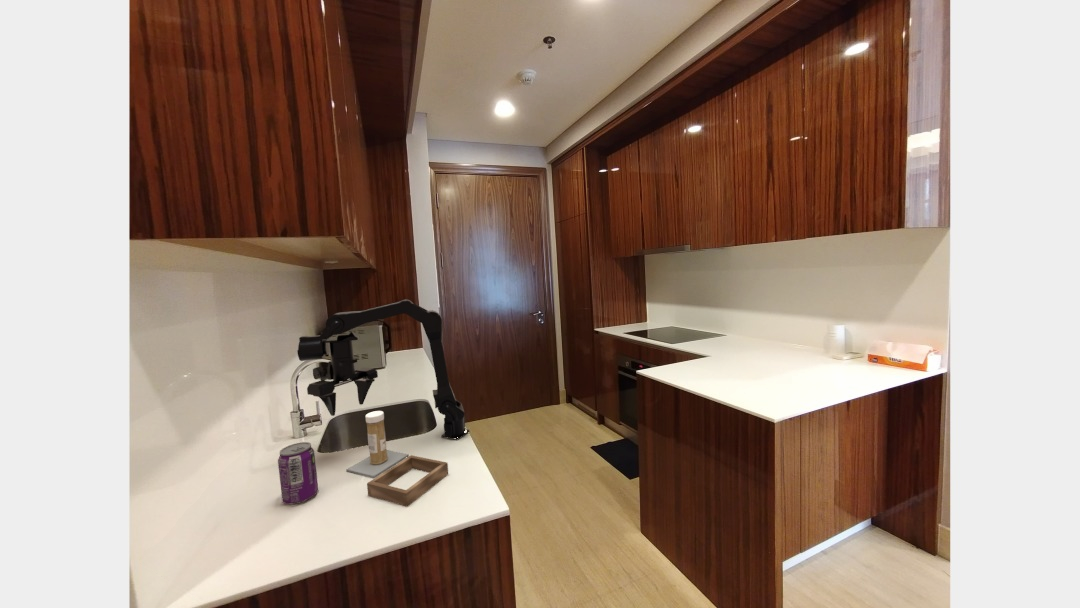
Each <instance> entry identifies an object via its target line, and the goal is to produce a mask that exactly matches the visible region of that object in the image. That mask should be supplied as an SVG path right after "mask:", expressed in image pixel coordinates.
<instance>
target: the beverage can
mask: <svg viewBox="0 0 1080 608" xmlns="http://www.w3.org/2000/svg"><path fill="white" fill-rule="evenodd" d="M315 455H316V454H315V450H314V448H313V447H312V443H311V442H308V441H301V442H296V443H293V444H290V445H288V446H285V447H283V448H282V449H280V450H279V456H278V458H277V466H278V475H279V484H280V490H281V491H280V492H281V500H282V501H281V502H283V503H284V504H288V505H289V504H290V505H291V504H292V505H296V504H300V503H303V502H306V501H308V500H309V499H311V498H312V497H313V496H315V495H316V494H317V493H318V491H319V484H318V474H317V465H316V456H315Z"/></svg>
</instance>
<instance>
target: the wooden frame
mask: <svg viewBox="0 0 1080 608" xmlns="http://www.w3.org/2000/svg"><path fill="white" fill-rule="evenodd" d="M448 465H449V464H448V462H446V461H441V460H436V459H431V458H426V457H421V456H415V455H412V454H411V455H409V456H408V457H407V458H405V459H404V460H402V461H400V462H399V463H397V464H396V465H394V466H393V467H391V468H389V469H388V470H386V471H385V472H383V473H382V474H380V475H378V476H377V477H375V478H372V479H371V480H369V481H368V482H367V483H366V488H367V496H368V497H372V498H376V499H378V500H383V501H387V502H390V503H393V504H395V505H396V504H397V505H401V506H402V507H403V506H404V507H409V506H410V505H411V504H413V503H414V502H416V501H417V500H418V499H419V498H420V497H422V495H424V494H425V493H427V492H428V491H430V489H432V488H433V487H434V486H435V485H437V484H438V483H439V482H440V481H441V480H442V479H444V478H445V477H447V476H448V475H449V466H448ZM412 469H413V470H416V469H417V470H416V471H421V470H422V472H425V471H426V472H425V473H428V474H426V475H425V476H423V477H422V478H420V479H419V480H418V481H416V482H415V483H414V484H412V485H411V486H409V487H408V488H407V489H403V488H401V487H400V488H399V487H395V486H391V485H390V484H392V483H393V482H394V481H396V480H398V479H399V478H401V477H403V476H404V475H405V474H406V473H408V472H409V471H411V470H412Z"/></svg>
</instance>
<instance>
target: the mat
mask: <svg viewBox="0 0 1080 608" xmlns="http://www.w3.org/2000/svg"><path fill="white" fill-rule="evenodd" d="M387 456H388V459H387V461H385V462H384V463H382V464H378V465H373V464H371V463H370V455H369V456H368V457H365V458H364V459H363V460H360V461H359V462H357V463H355V464H353V465H352V466H350V467H348V468H346V472H347V473H351V474H355V475H359V476H364V477H367V478H370V479H375V478H376V477H378V476H379V475H381V474H382V473H384V472H386V471H387V470H389V469H390V468H392V467H393V466H395V465H397V464H398V463H400V462H401V461H403V460H404V459H406V457H407V458H408V457H409V456H410V455H409V453H404V452H400V451H395V450H390V449H387Z"/></svg>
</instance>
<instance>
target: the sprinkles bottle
mask: <svg viewBox="0 0 1080 608" xmlns="http://www.w3.org/2000/svg"><path fill="white" fill-rule="evenodd" d="M384 421H385V413H384V411H383V410H375V411H371V412H368V413H367V414H365V423H366V429H367V442H368V451H369V456H370V463H371V464H373V465H378V464H382V463H384V462H385V461H387V459H388V456H387V450H388V449H387V438H386V429H385V422H384Z"/></svg>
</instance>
